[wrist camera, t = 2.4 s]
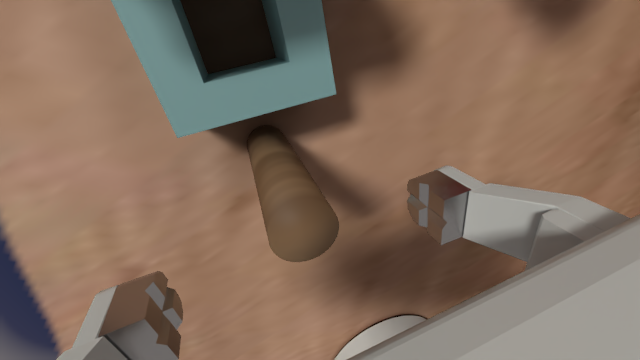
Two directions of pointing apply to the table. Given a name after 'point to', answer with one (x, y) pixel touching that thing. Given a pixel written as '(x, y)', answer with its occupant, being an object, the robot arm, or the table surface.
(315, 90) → the socket station
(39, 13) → the table surface
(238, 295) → the table surface
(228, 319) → the table surface
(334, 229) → the peg
